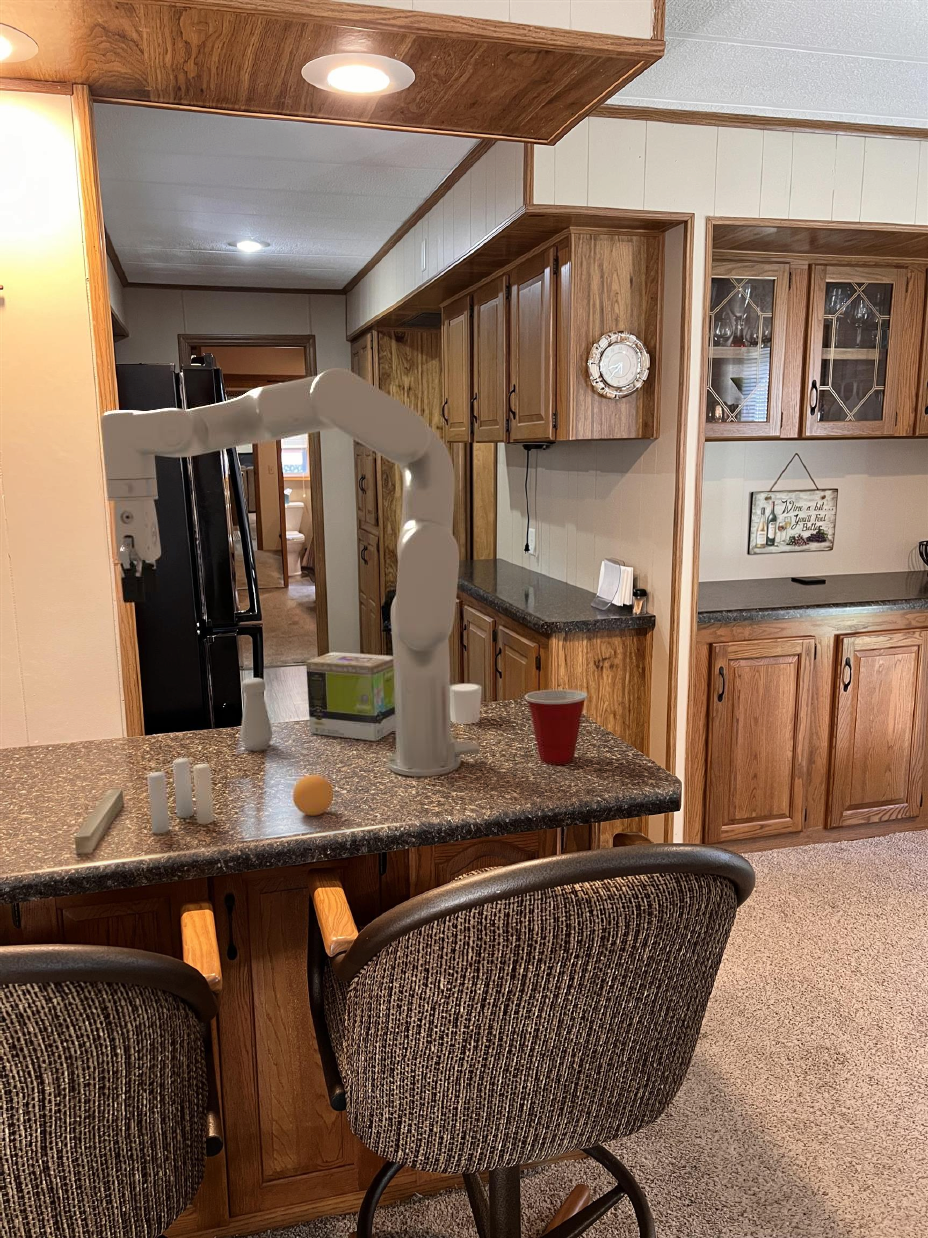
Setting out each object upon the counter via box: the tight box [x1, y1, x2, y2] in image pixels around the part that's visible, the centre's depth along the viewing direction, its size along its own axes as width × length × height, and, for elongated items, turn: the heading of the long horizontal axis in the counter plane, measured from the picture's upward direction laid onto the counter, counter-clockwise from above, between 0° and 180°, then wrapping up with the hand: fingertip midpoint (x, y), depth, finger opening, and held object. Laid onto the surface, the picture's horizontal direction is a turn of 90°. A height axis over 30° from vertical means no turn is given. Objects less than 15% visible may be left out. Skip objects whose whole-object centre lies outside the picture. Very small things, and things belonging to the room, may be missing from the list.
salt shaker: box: [240, 677, 273, 752], centre depth 170 cm, size 6×6×13 cm
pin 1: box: [147, 771, 170, 835], centre depth 133 cm, size 2×2×8 cm
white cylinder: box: [450, 682, 483, 725], centre depth 184 cm, size 7×7×7 cm
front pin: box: [192, 763, 215, 825], centre depth 137 cm, size 2×2×8 cm
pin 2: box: [172, 757, 194, 819], centre depth 139 cm, size 2×2×8 cm
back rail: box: [74, 788, 125, 855], centre depth 136 cm, size 2×18×2 cm, turn 6°
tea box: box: [305, 651, 396, 742], centre depth 178 cm, size 15×10×15 cm
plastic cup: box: [524, 689, 588, 765], centre depth 160 cm, size 11×11×12 cm
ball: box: [292, 774, 334, 817], centre depth 138 cm, size 6×6×6 cm
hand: (141, 597), depth 149 cm, fingers open, 9 cm apart
